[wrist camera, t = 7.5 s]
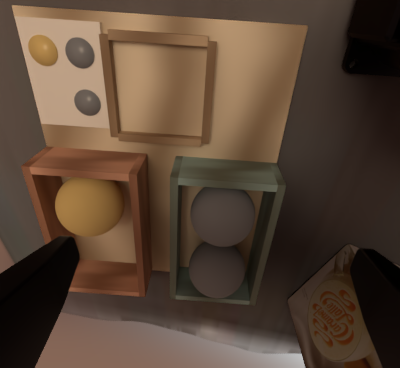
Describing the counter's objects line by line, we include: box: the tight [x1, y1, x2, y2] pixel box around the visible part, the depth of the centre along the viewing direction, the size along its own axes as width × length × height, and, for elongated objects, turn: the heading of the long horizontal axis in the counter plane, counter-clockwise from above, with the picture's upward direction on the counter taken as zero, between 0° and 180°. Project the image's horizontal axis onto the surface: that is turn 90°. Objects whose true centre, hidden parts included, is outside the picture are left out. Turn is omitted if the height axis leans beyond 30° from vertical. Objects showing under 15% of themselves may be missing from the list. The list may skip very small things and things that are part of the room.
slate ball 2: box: [189, 242, 245, 298], centre depth 21 cm, size 4×4×4 cm
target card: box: [15, 16, 110, 129], centre depth 16 cm, size 5×6×1 cm
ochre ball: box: [55, 177, 125, 237], centre depth 19 cm, size 4×4×4 cm
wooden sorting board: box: [12, 5, 308, 305], centre depth 19 cm, size 16×20×4 cm
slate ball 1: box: [190, 187, 255, 247], centre depth 19 cm, size 4×4×4 cm
